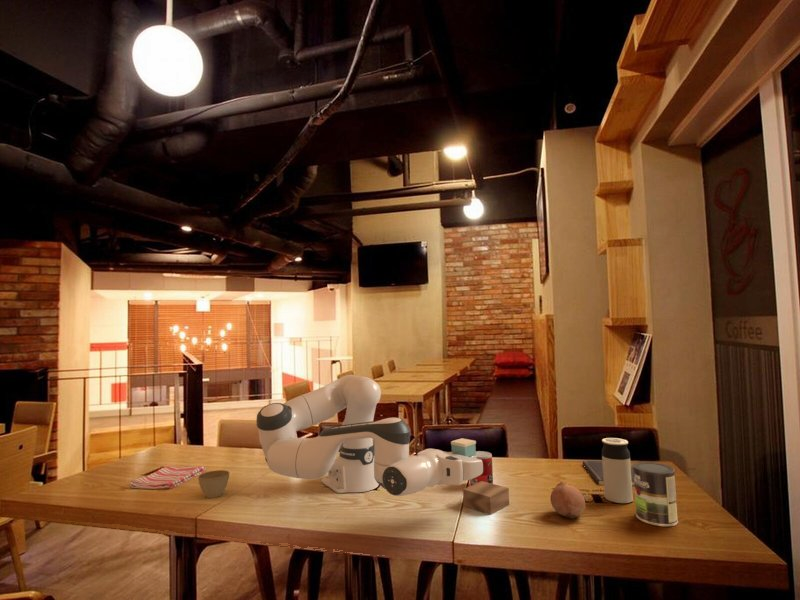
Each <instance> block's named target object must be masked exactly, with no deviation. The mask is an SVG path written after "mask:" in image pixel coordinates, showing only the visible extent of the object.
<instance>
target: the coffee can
mask: <svg viewBox="0 0 800 600" xmlns="http://www.w3.org/2000/svg"><path fill="white" fill-rule="evenodd" d="M632 467H633V470H634V484H635V486H634V496H635V497H634V498H635V516H636V518H637V519H638V520H640V521H641V522H643V523H645V524H648V525H651V526H656V527H657V526H658V527H664V528H665V527H666V528H667V527H668V528H669V527H674V526H677V525H678V524H679V520H678V508H677V507H678V506H677V493H676V491H677V490H676V478H675V473H676V470H675V468H674V467H672V466H670V465H667V464H663V463H659V462H652V461H651V462H650V461H649V462H647V461H640V462H635V463H633V464H632Z"/></svg>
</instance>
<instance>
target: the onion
mask: <svg viewBox="0 0 800 600" xmlns="http://www.w3.org/2000/svg"><path fill="white" fill-rule="evenodd" d="M549 497H550V503H551V506H552V508H553V509H554V511H555V512H557V514H559V515H561V516H562V517H564V518H566V519H572V520H575V518H577V517H579V516H581V514H582V513H583V512H584V511H585V510H586V497H585V496H584V494H583V492H582V491H581V490H580V489H578V488H577V487H576V486H574V485H571V484H567V483H566V482H564V481H561V482H560V483H557V484H556V486H555V487H554V488H553V489H552V491H551V493H550V496H549Z"/></svg>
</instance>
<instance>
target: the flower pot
mask: <svg viewBox="0 0 800 600" xmlns="http://www.w3.org/2000/svg"><path fill="white" fill-rule="evenodd" d="M197 478H198V482H199V483H198V484H199V486H200V490H201V492H202V493H203V495H204V496H205V498H207V499H214V498H218V497H220V496H222V495H223V493H224V492H225V490H226V487H227V486H228V485H227V484H228V482H229V479H230V471H229V470H224V469H222V470H221V469H220V470H210V471H206V472H202V473H201V474H199V475H197Z"/></svg>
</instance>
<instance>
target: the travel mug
mask: <svg viewBox="0 0 800 600" xmlns="http://www.w3.org/2000/svg"><path fill="white" fill-rule="evenodd" d="M601 442H602V443H603V444H602V445H603V447H602V449H601V459H602V460H601V461H602V463H603V479H604V485H603V491H604V493H603V494H604V498H605V499H606V500H608V501H610V502H612V503H615V504H629V503H631V502H633V501H634V497H633V486H632V479H631V467H632V466H631V452H630V450H629V449H628V444H629V441H628V440H627V439H625V438H624V439H623V438H618V437H606V438H602V439H601Z"/></svg>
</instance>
